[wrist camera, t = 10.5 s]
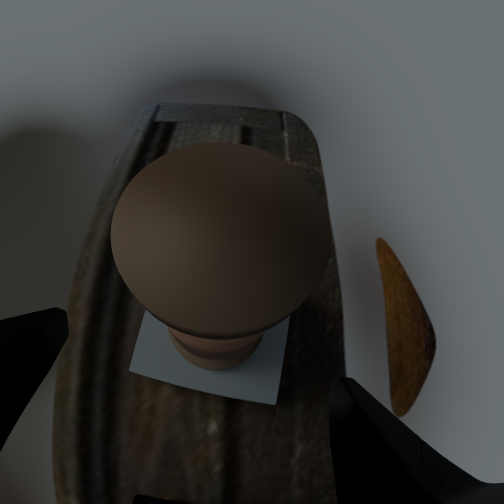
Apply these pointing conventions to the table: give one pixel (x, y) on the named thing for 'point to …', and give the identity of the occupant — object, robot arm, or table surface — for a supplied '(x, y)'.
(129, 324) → the table surface
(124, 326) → the table surface
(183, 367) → the grey bridge block
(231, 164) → the brown flanged cylinder
